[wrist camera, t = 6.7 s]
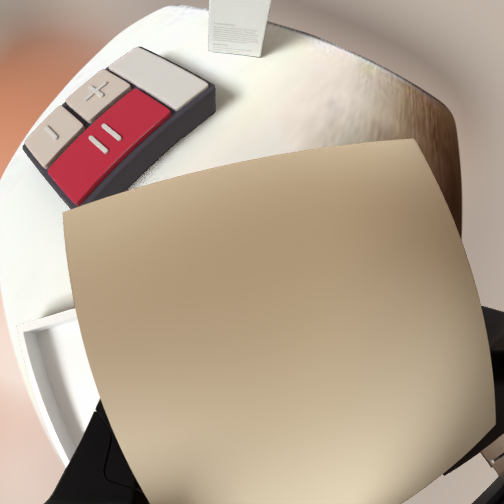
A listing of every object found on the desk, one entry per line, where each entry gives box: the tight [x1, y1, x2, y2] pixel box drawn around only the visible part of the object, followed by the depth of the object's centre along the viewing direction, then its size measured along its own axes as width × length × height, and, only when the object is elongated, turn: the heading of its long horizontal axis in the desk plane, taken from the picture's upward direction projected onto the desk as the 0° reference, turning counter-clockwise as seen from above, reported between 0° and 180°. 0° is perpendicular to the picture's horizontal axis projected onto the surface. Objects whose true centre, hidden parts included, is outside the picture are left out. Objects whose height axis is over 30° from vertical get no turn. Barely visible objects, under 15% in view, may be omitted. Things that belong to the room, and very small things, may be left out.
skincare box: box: [208, 0, 272, 57], centre depth 21 cm, size 6×4×12 cm
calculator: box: [23, 47, 215, 209], centre depth 21 cm, size 11×4×15 cm
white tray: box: [16, 308, 100, 467], centre depth 16 cm, size 12×12×2 cm
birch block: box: [63, 139, 496, 504], centre depth 9 cm, size 5×5×12 cm
